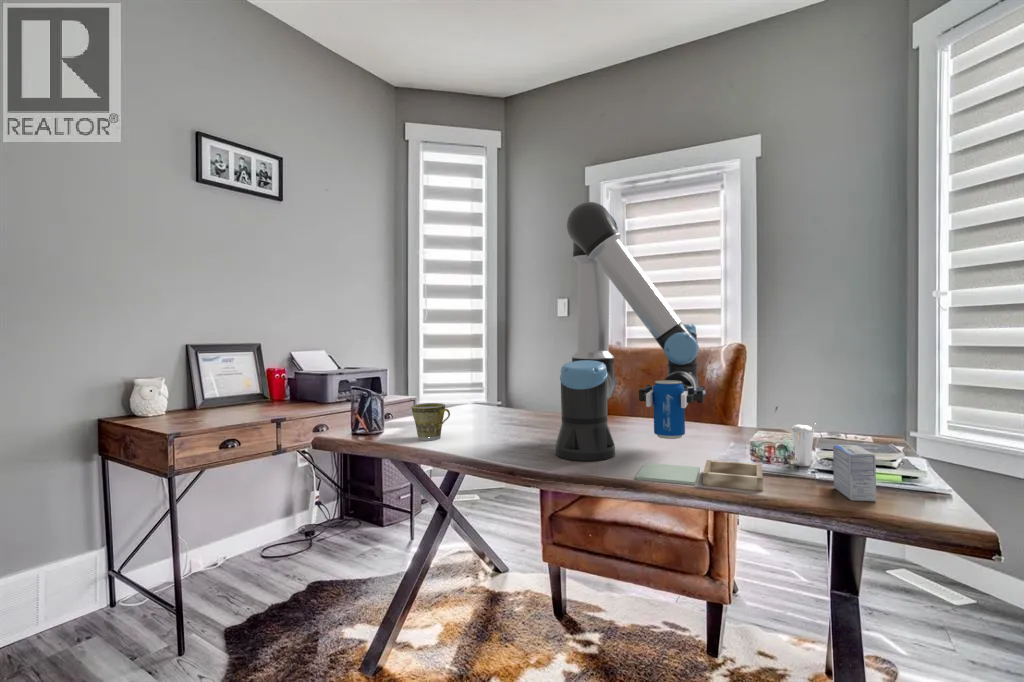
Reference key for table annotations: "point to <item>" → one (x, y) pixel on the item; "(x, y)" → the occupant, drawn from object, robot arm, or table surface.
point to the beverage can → (668, 409)
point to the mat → (669, 473)
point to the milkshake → (803, 443)
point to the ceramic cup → (429, 420)
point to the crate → (733, 475)
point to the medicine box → (855, 472)
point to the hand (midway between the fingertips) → (665, 401)
